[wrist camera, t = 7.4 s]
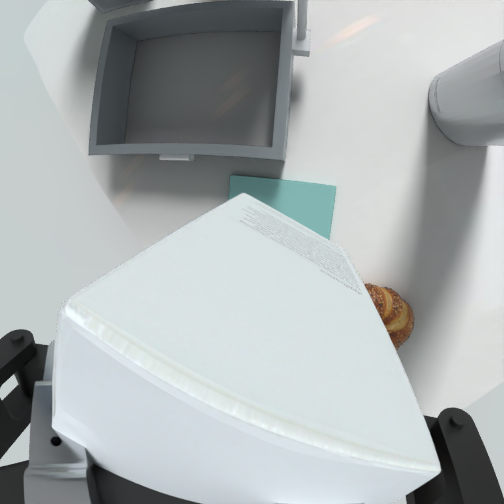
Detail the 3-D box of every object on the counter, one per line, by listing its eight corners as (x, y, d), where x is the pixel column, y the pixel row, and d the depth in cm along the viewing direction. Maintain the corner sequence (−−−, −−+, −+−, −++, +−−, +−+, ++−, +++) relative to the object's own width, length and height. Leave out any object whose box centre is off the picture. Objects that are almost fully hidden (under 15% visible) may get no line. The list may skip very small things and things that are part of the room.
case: (310, 10, 24) (314, -64, 11) (300, 168, 30) (303, 170, 17) (135, 20, 27) (70, -22, 14) (117, 159, 32) (33, 165, 19)
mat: (335, 186, 30) (336, 186, 29) (322, 275, 33) (323, 277, 32) (231, 175, 31) (230, 175, 31) (225, 263, 34) (224, 265, 34)
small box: (274, 357, 18) (235, 563, 5) (183, 308, 18) (55, 483, 5) (350, 248, 15) (453, 474, 3) (243, 187, 15) (42, 291, 3)
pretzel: (414, 276, 32) (426, 288, 28) (404, 351, 35) (412, 367, 31) (317, 283, 33) (320, 297, 30) (317, 359, 36) (319, 377, 33)
